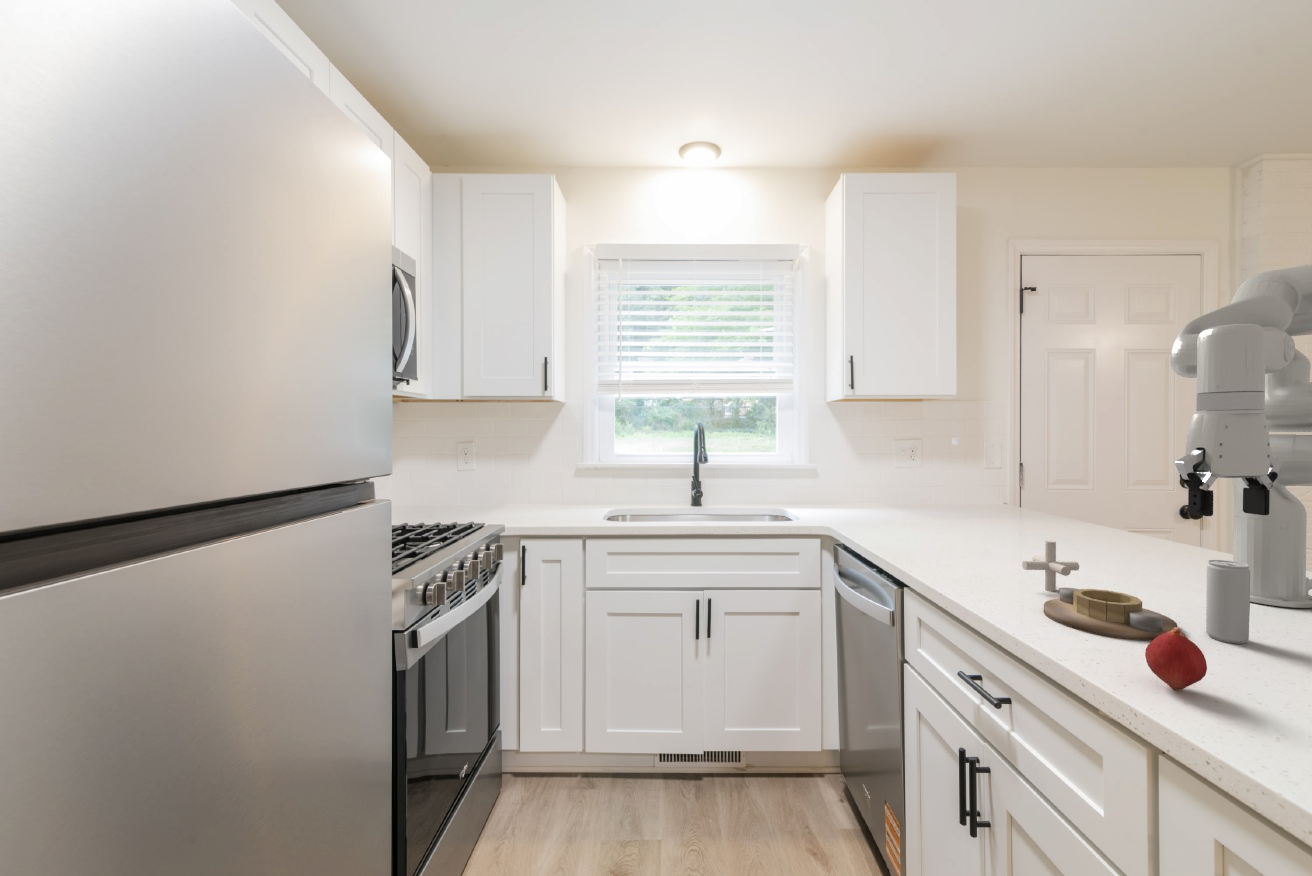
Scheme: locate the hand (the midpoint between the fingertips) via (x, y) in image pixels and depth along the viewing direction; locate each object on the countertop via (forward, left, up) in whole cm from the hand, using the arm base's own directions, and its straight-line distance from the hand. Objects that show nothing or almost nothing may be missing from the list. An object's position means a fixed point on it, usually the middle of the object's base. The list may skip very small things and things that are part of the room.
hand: (1228, 514), depth 89 cm
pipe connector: (+6, -28, -20) cm, 35 cm away
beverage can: (0, 0, -20) cm, 20 cm away
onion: (+25, +14, -20) cm, 35 cm away
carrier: (+11, -10, -20) cm, 25 cm away
